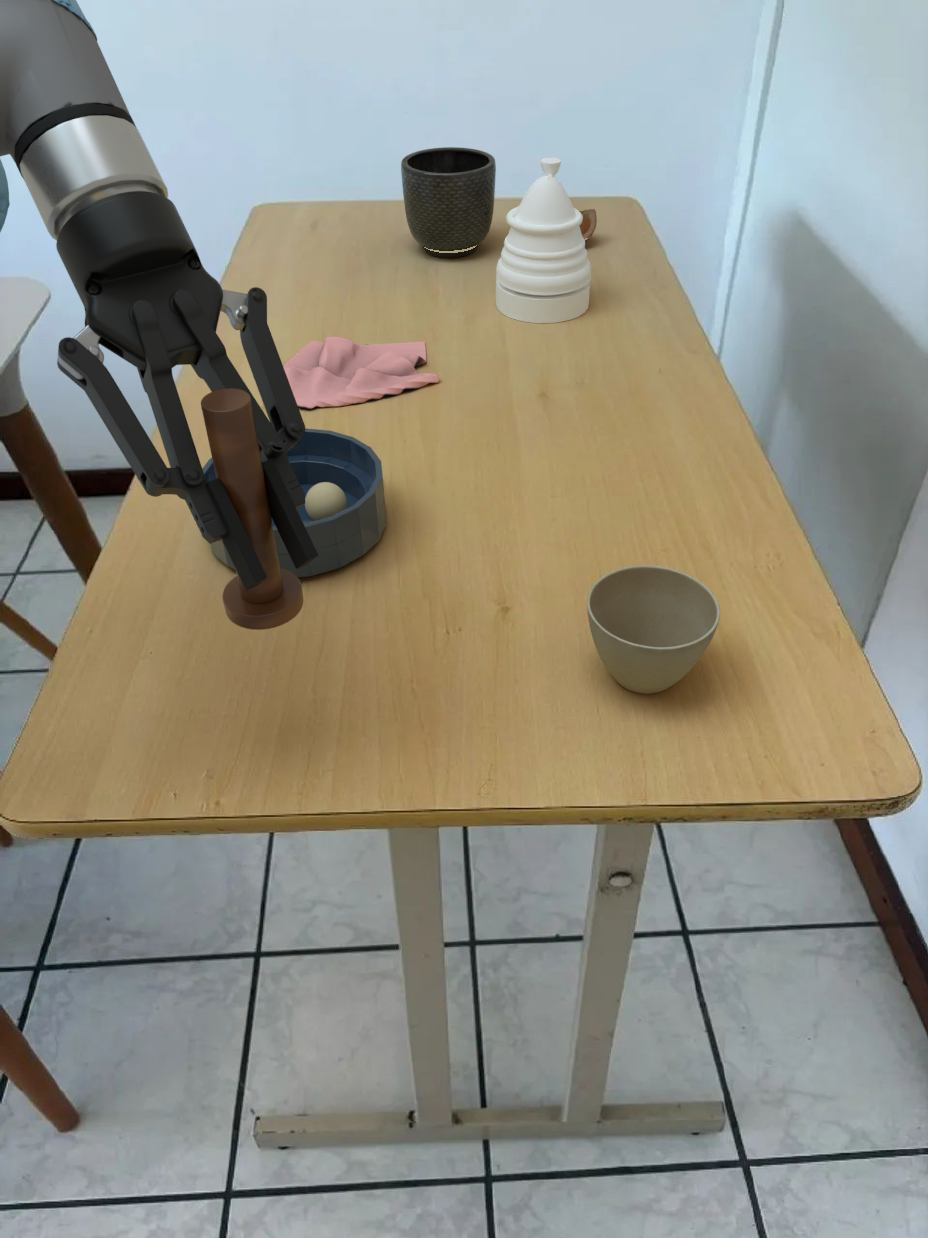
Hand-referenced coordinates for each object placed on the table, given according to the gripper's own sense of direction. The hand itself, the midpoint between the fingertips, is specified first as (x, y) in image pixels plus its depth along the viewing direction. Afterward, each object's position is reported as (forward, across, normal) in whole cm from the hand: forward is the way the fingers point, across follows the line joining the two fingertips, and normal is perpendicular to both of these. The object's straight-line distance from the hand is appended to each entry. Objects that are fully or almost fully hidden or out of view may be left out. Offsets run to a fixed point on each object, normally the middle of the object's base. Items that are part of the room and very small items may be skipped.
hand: (281, 572), depth 59 cm
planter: (-43, -69, -68) cm, 106 cm away
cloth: (-24, -36, -49) cm, 65 cm away
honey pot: (-25, -67, -50) cm, 87 cm away
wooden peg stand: (+1, 0, -6) cm, 6 cm away
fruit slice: (-36, -84, -61) cm, 110 cm away
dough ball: (-7, -16, -29) cm, 34 cm away
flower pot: (+18, -26, -8) cm, 33 cm away
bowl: (-7, -14, -32) cm, 35 cm away
